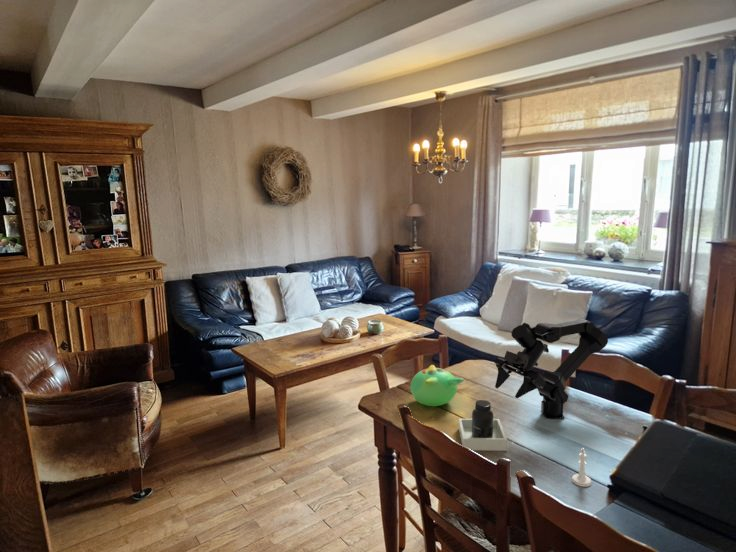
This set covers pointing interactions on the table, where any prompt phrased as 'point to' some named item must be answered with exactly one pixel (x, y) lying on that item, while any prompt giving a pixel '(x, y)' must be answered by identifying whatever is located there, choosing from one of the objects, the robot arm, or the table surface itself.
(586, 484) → the chess piece
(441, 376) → the toy bird
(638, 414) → the table surface
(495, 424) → the tray
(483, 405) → the supplement bottle
